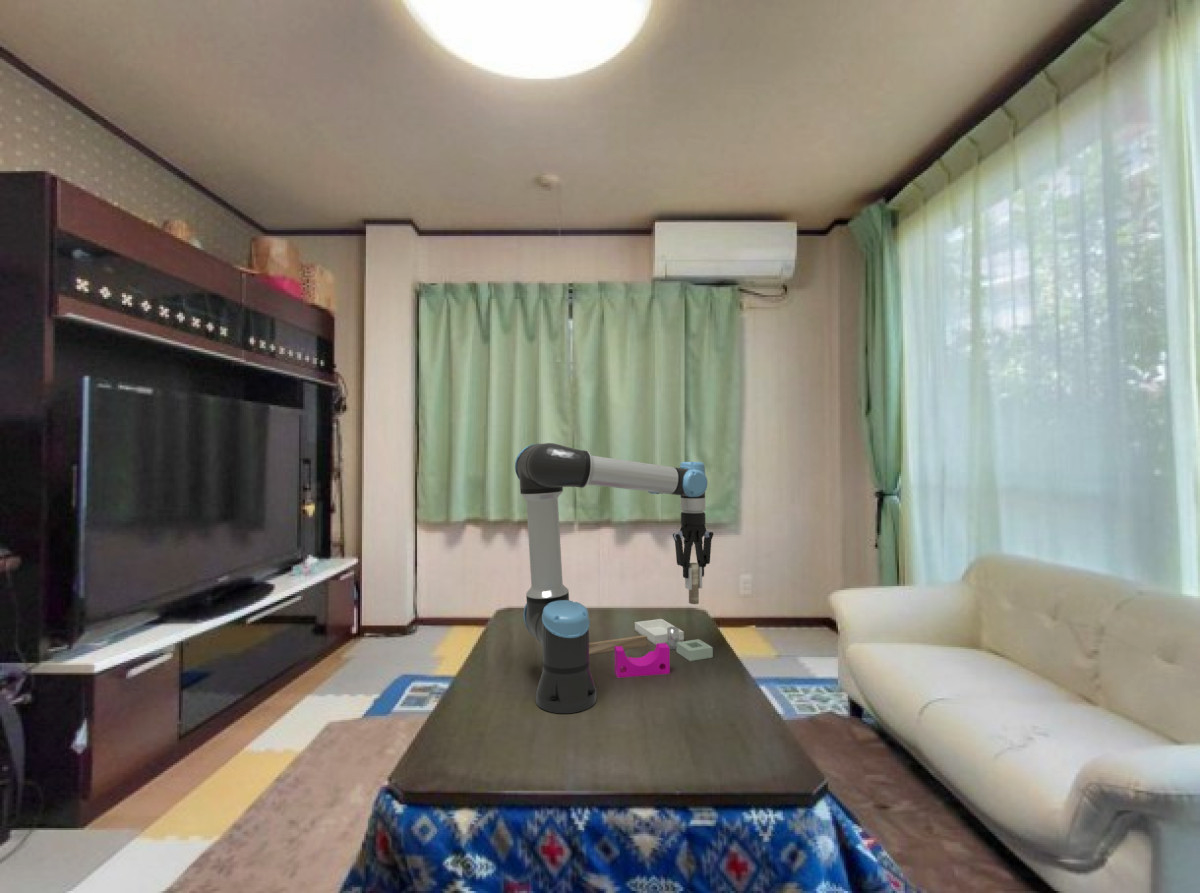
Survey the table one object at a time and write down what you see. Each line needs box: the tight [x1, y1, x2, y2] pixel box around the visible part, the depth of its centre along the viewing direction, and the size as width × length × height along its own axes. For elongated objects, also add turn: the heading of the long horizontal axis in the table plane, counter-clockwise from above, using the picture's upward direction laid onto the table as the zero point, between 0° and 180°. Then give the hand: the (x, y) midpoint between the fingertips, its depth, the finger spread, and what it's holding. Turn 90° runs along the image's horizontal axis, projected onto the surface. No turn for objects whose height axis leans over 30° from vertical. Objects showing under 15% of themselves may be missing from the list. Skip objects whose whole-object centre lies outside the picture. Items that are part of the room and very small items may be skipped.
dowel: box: [688, 562, 700, 605], centre depth 168 cm, size 3×3×12 cm
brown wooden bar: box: [589, 635, 648, 655], centre depth 172 cm, size 2×22×3 cm, turn 111°
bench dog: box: [666, 626, 680, 651], centre depth 174 cm, size 4×4×6 cm
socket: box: [676, 638, 714, 662], centre depth 168 cm, size 8×8×3 cm
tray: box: [634, 618, 685, 646], centre depth 186 cm, size 16×11×3 cm
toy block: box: [614, 643, 671, 679], centre depth 155 cm, size 15×6×8 cm, turn 100°
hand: (693, 587), depth 168 cm, fingers closed on dowel, 3 cm apart
